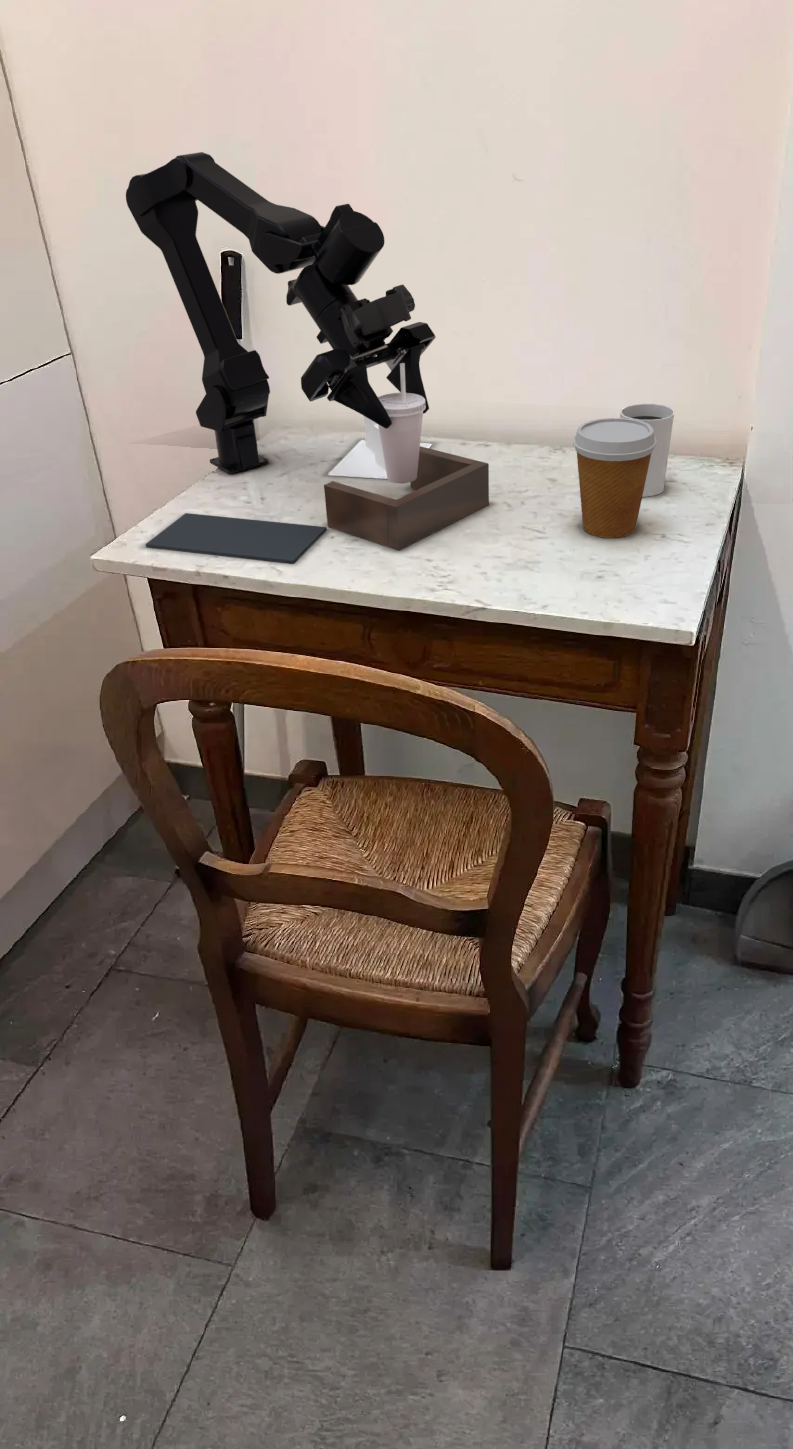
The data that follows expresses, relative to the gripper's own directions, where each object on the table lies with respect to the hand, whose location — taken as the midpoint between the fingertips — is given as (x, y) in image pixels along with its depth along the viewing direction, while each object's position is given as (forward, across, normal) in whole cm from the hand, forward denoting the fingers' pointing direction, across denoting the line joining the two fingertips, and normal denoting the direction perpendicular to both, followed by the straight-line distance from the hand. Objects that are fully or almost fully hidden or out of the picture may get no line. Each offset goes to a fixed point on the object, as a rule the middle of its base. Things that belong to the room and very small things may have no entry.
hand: (408, 419), depth 127 cm
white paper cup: (+22, +24, -4) cm, 33 cm away
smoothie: (+5, 0, +7) cm, 8 cm away
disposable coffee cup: (+24, +11, -7) cm, 28 cm away
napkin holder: (-3, +13, +22) cm, 25 cm away
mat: (0, -18, +18) cm, 25 cm away
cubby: (+8, 0, +9) cm, 12 cm away
